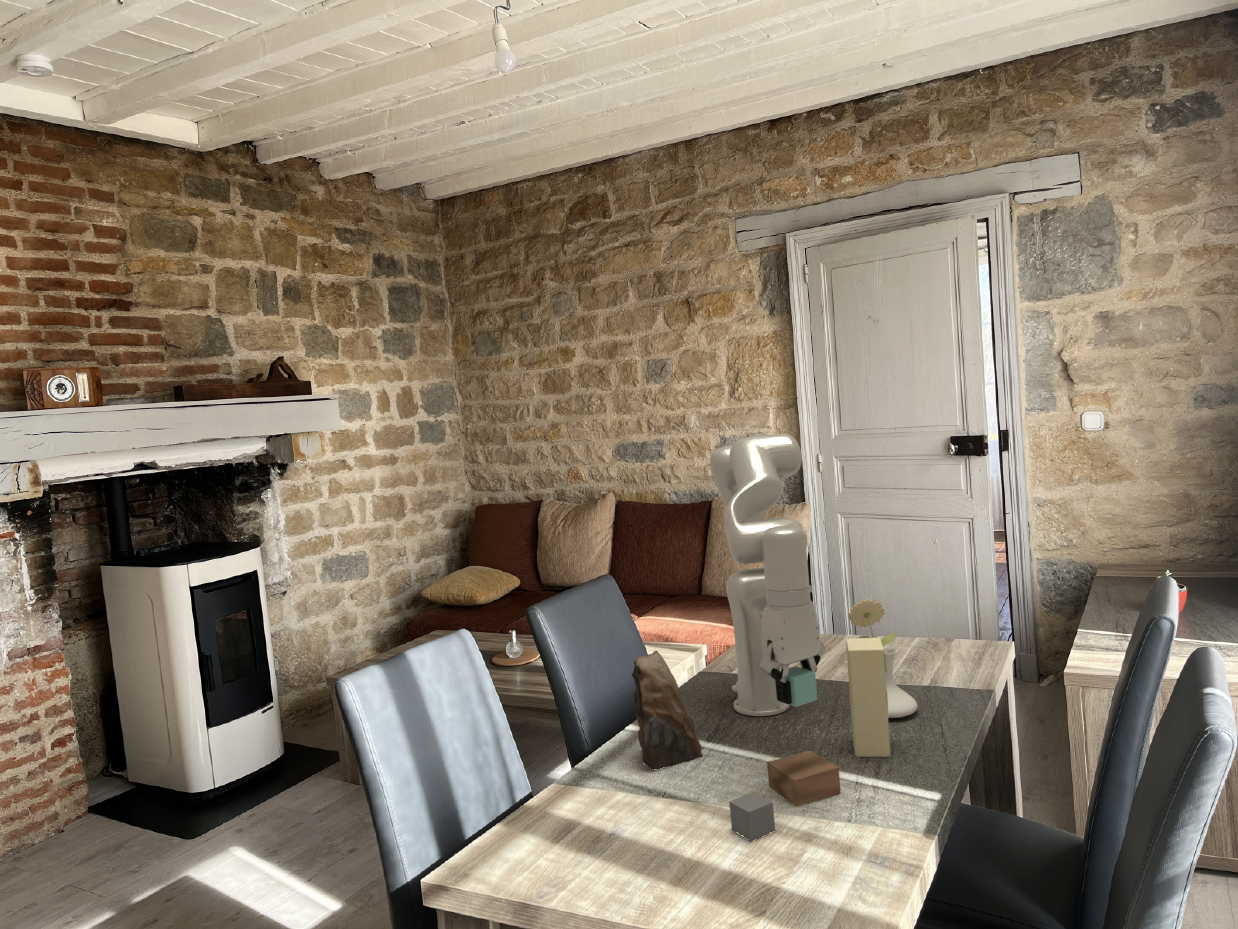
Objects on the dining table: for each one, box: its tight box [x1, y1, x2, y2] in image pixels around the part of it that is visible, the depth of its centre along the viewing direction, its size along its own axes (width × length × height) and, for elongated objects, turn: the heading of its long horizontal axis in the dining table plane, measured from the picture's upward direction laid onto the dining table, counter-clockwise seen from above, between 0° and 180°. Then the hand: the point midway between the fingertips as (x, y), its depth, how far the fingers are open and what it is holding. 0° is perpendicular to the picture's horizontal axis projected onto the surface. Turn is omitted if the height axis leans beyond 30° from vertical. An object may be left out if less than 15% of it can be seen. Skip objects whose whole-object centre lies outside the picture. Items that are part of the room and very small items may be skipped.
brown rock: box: [631, 650, 704, 771], centre depth 177 cm, size 13×13×20 cm
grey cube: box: [728, 791, 776, 842], centre depth 143 cm, size 5×5×5 cm
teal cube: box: [775, 665, 818, 708], centre depth 154 cm, size 5×5×5 cm
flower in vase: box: [847, 598, 919, 719], centre depth 187 cm, size 13×11×25 cm
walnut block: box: [766, 750, 842, 808], centre depth 156 cm, size 9×9×5 cm
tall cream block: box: [845, 637, 891, 758], centre depth 170 cm, size 8×7×21 cm
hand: (796, 697), depth 155 cm, fingers closed on teal cube, 5 cm apart
